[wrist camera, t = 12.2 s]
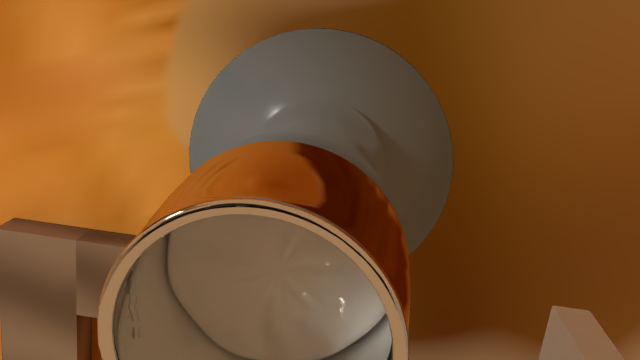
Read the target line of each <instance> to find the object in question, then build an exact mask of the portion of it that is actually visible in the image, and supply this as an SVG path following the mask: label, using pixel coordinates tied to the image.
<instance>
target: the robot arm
mask: <svg viewBox="0 0 640 360" xmlns="http://www.w3.org/2000/svg"><path fill="white" fill-rule="evenodd" d="M538 360H624V358H623V357H622V356H621V354H620V353H619V351H618V350H617V349H616V347H615V346H614V344H613V343H612V341H611V340H610V339H609V337H608V336H607V335H606V333H605V332H604V330H603V329H602V327H601V326H600V325H599V323H598V322H597V320H596V319H595V318H594V316H593V315H592V313H591V312H590V311H589V310H582V309H575V308H568V307H560V306H552V309H551V312H550V316H549V320H548V324H547V328H546V332H545V335H544V339H543V343H542V347H541V351H540V354H539V358H538Z"/></svg>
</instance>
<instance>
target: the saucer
mask: <svg viewBox="0 0 640 360" xmlns="http://www.w3.org/2000/svg"><path fill="white" fill-rule="evenodd" d="M308 99H327V100H333V101H337V102H340V103H343V104H345V105H348V106H350V107H351V108H353V109H355V110H356V111H358V112H359V113H360V114H362V115H363V116H364V117H365V118H366V119H367V120H368V121H369V122H370V123H371V124H372V126H373V127H374V128H375V130H376V131H377V133H378V135H379V137H380V139H381V141H382V144H383V147H384V150H385V155H386V177H385V183H386V185H387V187H388V189H389V191H390V193H391V195H392V197H393V199H394V201H395V203H396V205H397V208H398V210H399V213H400V216H401V219H402V223H403V228H404V232H405V237H406V242H407V247H408V254H409V255H410V254H411V253H412V252H413V251H414V250H415V249H416V248H417V247H418V246H419V245H420V244H421V243H422V242H423V241H424V240H425V238H426V237H427V236H428V234H429V233H430V232H431V231H432V230H433V228H434V226H435V224H436V223H437V221H438V219H439V217H440V216H441V213H442V211H443V209H444V206H445V203H446V201H447V198H448V194H449V191H450V187H451V182H452V174H453V146H452V140H451V134H450V129H449V126H448V123H447V120H446V116H445V114H444V112H443V110H442V107H441V105H440V103H439V101H438V99H437V97H436V96H435V94H434V92H433V91H432V89H431V88H430V86H429V85H428V83H427V82H426V81H425V79H424V78H423V77H422V76H421V75H420V73H419V72H418V71H417V70H416V69H415V68H414V67H413V66H411V64H410V63H408V62H407V61H406V60H405V59H404V58H403V57H402V56H400V55H399V54H397V53H396V52H395V51H393V50H392V49H390V48H389V47H387V46H385V45H383V44H381V43H379V42H377V41H375V40H373V39H371V38H368V37H365V36H362V35H359V34H356V33H353V32H348V31H343V30H338V29H324V28H313V29H301V30H296V31H291V32H287V33H282V34H279V35H276V36H273V37H271V38H268V39H265V40H263V41H261V42H259V43H257V44H255V45H254V46H252V47H250V48H248V49H246V50H245V51H244V52H242V53H241V54H240V55H238V56H237V57H236V58H235V59H233V60H232V61H231V62H230V63H229V64H228V65H227V66H226V67H225V68H224V69H223V70H222V71H221V72H220V73H219V74H218V76H217V77H216V78H215V79H214V81H213V82H212V83H211V85H210V86H209V88H208V90H207V91H206V93H205V95H204V97H203V98H202V100H201V103H200V105H199V108H198V110H197V113H196V115H195V119H194V123H193V127H192V131H191V138H190V147H189V156H190V170H191V173H192V172H193V171H194V170H196V169H197V168H198V167H199V166H201V165H202V164H203V163H205V162H206V161H207V160H209V159H210V158H211V157H213V156H214V155H216V154H217V153H218V152H220V151H221V150H223V149H225V148H226V147H228V146H230V145H232V144H234V143H236V142H239V141H241V140H244V139H246V138H249V137H251V136H254V135H257V134H258V133H259V132H260V130H261V128H262V127H263V126H264V124H265V123H266V122H267V121H268V119H269V118H270V117H271V116H273V115H274V114H275V113H276V112H277V111H279V110H280V109H282V108H284V107H285V106H287V105H290V104H292V103H295V102H298V101H302V100H308Z"/></svg>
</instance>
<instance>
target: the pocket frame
mask: <svg viewBox="0 0 640 360" xmlns="http://www.w3.org/2000/svg"><path fill="white" fill-rule="evenodd" d="M135 237H136V235H129V234H122V233H115V232H108V231H101V230H94V229H87V228H80V227H73V226H67V225H60V224H53V223H46V222H39V221H32V220H25V219H18V218H13V219H11V220H10V221H8V222H6V223H4V224H3V225H1V226H0V325H1V344H2V360H91V317H94V318H97V315H98V307H99V301H100V297H101V293H102V290H103V287H104V284H105V281H106V279H107V276H108V274H109V272H110V270H111V268H112V266H113V265H114V263H115V261H116V260H117V258H118V257H119V255H120V254H121V252H122V251H123V250H124V249H125V247H126V246H127V245H128V244H129V243H130V242H131V241H132V240H133V239H134V238H135Z"/></svg>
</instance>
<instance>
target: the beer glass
mask: <svg viewBox="0 0 640 360" xmlns="http://www.w3.org/2000/svg"><path fill="white" fill-rule="evenodd" d="M385 177H386V155H385V150H384V147H383V144H382V141H381V139H380V137H379V135H378V133H377V131H376V130H375V128H374V127H373V126H372V124H371V123H370V122H369V121H368V120H367V119H366V118H365V117H364V116H363V115H362V114H360V113H359V112H358V111H356V110H355V109H353V108H351V107H350V106H348V105H345V104H343V103H340V102H337V101H333V100H327V99H308V100H302V101H298V102H295V103H292V104H290V105H287V106H285V107H284V108H282V109H280V110H279V111H277V112H276V113H275V114H274V115H273V116H271V117H270V118H269V119H268V121H267V122H266V123H265V124H264V126H263V127H262V128H261V130H260V132H259V133H258V134H257V135H254V136H251V137H249V138H246V139H244V140H241V141H239V142H236V143H234V144H232V145H230V146H228V147H226V148H225V149H223V150H221V151H220V152H218V153H217V154H216V155H214V156H213V157H211V158H210V159H209V160H207V161H206V162H205V163H203V164H202V165H201V166H199V167H198V168H197V169H196V170H194V171H193V172H192V173H191V174H190V175H189V176H188V177H187V178H186V179H185V180H184V181H183V182H182V183H181V184H180V185H179V186H178V187H177V188H176V189H175V190H174V191H173V192H172V193H171V194H170V196H169V197H168V198H167V199H166V200H165V201H164V203H163V204H162V205H161V206H160V208H159V209H158V210H157V211H156V213H155V214H154V215H153V216H152V217H151V219H150V220H149V221H148V223H147V224H146V225H145V227H144V228H143V229H142V231H141V232H140V233H139V234H138V235H137V236H136V237H135V238H134V239H133V240H132V241H131V242H130V243H129V244H128V245H127V246H126V247H125V249H124V250H123V251H122V252H121V254H120V255H119V257H118V258H117V260H116V261H115V263H114V265H113V266H112V268H111V270H110V272H109V274H108V276H107V279H106V281H105V284H104V287H103V290H102V293H101V297H100V301H99V307H98V315H97V337H98V345H99V350H100V355H101V359H102V360H409V338H408V326H409V312H410V268H409V254H408V247H407V242H406V237H405V232H404V228H403V223H402V219H401V216H400V213H399V210H398V208H397V205H396V203H395V201H394V199H393V197H392V195H391V193H390V191H389V189H388V187H387V185H386V183H385Z"/></svg>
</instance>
